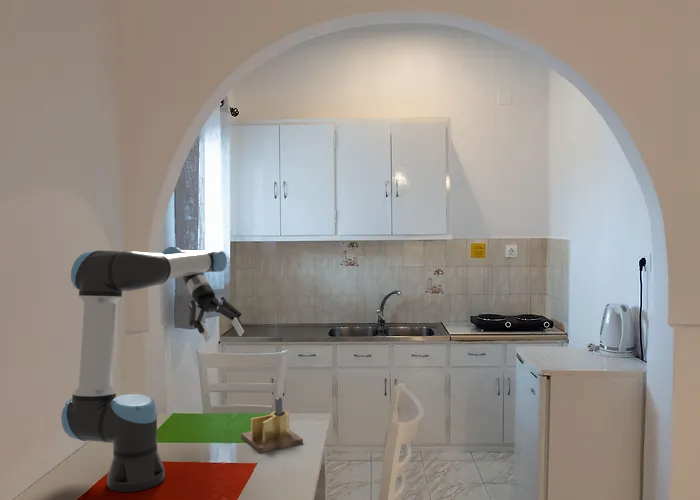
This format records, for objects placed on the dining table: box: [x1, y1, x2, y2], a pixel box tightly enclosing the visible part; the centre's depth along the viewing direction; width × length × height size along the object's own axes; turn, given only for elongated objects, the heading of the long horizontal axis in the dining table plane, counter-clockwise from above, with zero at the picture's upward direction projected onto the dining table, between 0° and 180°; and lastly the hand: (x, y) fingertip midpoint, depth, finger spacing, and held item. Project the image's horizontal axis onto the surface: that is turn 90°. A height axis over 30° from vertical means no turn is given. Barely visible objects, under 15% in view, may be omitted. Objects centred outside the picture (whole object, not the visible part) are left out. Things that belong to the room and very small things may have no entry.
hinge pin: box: [274, 396, 284, 415], centre depth 199 cm, size 2×2×12 cm
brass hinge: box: [250, 410, 290, 444], centre depth 196 cm, size 13×9×7 cm
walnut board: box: [240, 429, 304, 454], centre depth 198 cm, size 15×16×2 cm
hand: (225, 336), depth 207 cm, fingers open, 13 cm apart
